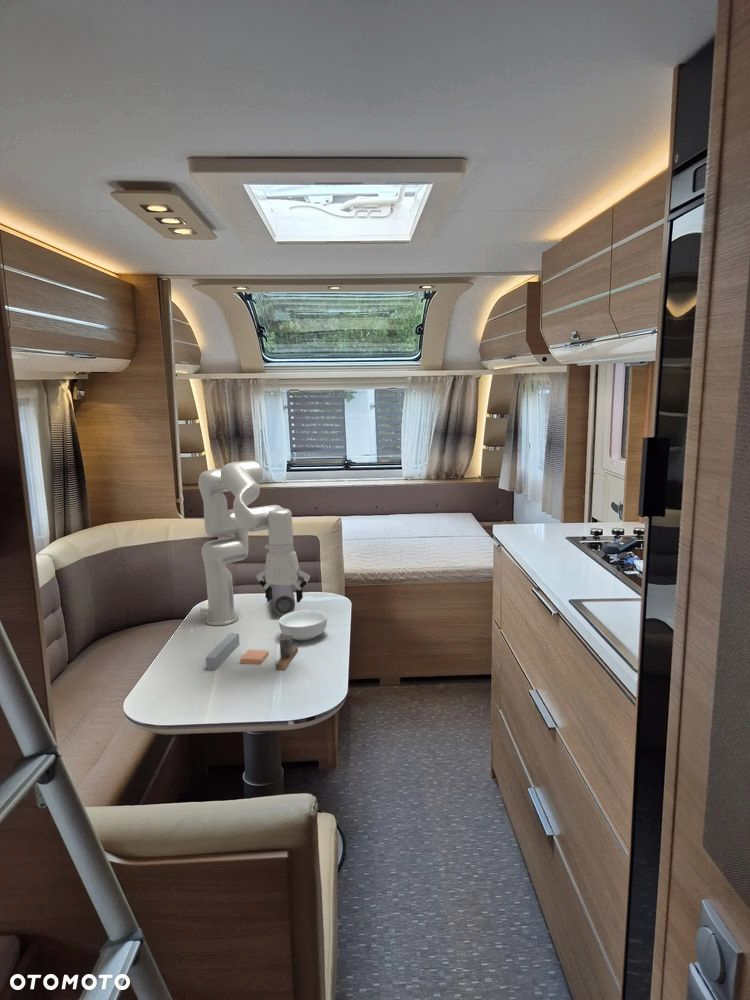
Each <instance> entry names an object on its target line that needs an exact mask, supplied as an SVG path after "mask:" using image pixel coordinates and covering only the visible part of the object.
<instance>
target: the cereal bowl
mask: <svg viewBox="0 0 750 1000" xmlns="http://www.w3.org/2000/svg"><path fill="white" fill-rule="evenodd" d="M327 620H328V616H327V614H326V613H325V612H323V611H321V610H314V609H301V610H295V611H294V610H293V612H290V613H288V614H285V615H283V616H281V617H280V618H279V619H278V624H279V625H278V626H279V629H280V632H281V633H282V634H283V635H292V637H293V640H296V641H300V642H302V641H309V640H312V639H314V638H315V637H317V636H319V635H321V634H322V633H323V632H324V631H325V629H326V628H327V623H328V621H327Z"/></svg>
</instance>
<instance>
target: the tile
mask: <svg viewBox="0 0 750 1000" xmlns="http://www.w3.org/2000/svg"><path fill="white" fill-rule="evenodd" d="M268 657H269V650H266V649H265V650H264V649H263V650H260V649H259V650H258V649H247V650H246V651H245V653H244V654H243V655H242V656H241V657H240V658H239V661H240V664H250V665H252V664H253V665H262V664H263V663H264V662H265V660H266V659H267V658H268Z"/></svg>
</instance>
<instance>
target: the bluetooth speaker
mask: <svg viewBox="0 0 750 1000" xmlns="http://www.w3.org/2000/svg"><path fill="white" fill-rule="evenodd" d="M270 587H271V588H272V600H271V601H270V602H271V605H272V609H273V610H274V612H275V614H277V615H279V616H281V617H282V616H283V615H285V614H288V613H290V612H294V610H295V607H296V600H295V599H296V597H295V593H294V591H293V589H292V585H270Z"/></svg>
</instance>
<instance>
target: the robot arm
mask: <svg viewBox="0 0 750 1000" xmlns="http://www.w3.org/2000/svg"><path fill="white" fill-rule="evenodd" d="M263 479H264V470H263V467H262V466H261V464H259V462H257V461H255V460H241V461H232V462H229V463H227V464H225V465H223V466H222V467H221V468H213V469H207V470H205V471H203V472H201V473H200V475H199V476H198V489H199V491H200V495H201V498H202V501H203V518H204V520H203V521H204V530H205V533H206V535H207V536H208V537H210V538H218V539H212V540H210V541H207V542H205V543H204V544H203V545H202V546H201V557H202V561H203V564H204V570H205V571H204V572H205V580H206V592H207V605H208V606H207V607H208V608H200V609H199V612H198V613H199V615H200V616H206V617H205V619H204V622H205V624H207V625H209V626H216V627H217V626H226V625H231V624H233V623H235V622H237V621H238V620H239V619H240V615H239V614H238V613H237V612H235V600H234V587H233V575H232V573H231V571H230V570H229V569H228V567H226V564H230V563H235V562H240V561H242V560H245V559H247V557H248V555H249V533H254V532H260V531H265V530H267V532H268V533H267V535H268V543H267V544H264V549H267V550H268V552H266V557H265V568H264V569H265V570H263V571H261V572H259V573H257V574H256V575H255V577H256V580H257V581H258V583H259V585H260V586H261V587H263V589H264V593H265V599H266V602H268V603H269V602H271V600H272V588H271V585H291V586H295V588H296V590H295V596H296V597H295V599H296V600H295V601H296V603H300V602H301V600H302V599H303V598H304V596H303V592H304V591H303V588H304V587H305V586H306V585H307V584H308V582H309V580H310V578H311V575H310V574H308V573H306V572H304V571H303V570H300V566H299V560H298V555H297V552H296V551H295V548H294V535H293V534H294V533H293V532H294V531H293V516H292V515H293V513H292V511H291V510H290V509H289V508H283V507H282V506H280V505H278V504H271V505H264V506H263V505H262V506H258V507H257V506H255V507H248V506H249V505H250V504H251V503H253V502H255V500H257V498H258V497H259V495H260V492H261V488H260V486H259V484H260V483H262V480H263ZM224 492H230V493H231V494H232V495H233V496H234V499H233V505H232V506H233V507H232V508H231V509H228V500H227V496H226V495H225V494H224ZM231 535H232V536H231ZM226 536H231V537H226ZM219 537H225V538H219ZM264 576H265V579H264V578H263V577H264ZM301 577H302V578H303V581H302V582H301V581H300V578H301Z"/></svg>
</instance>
